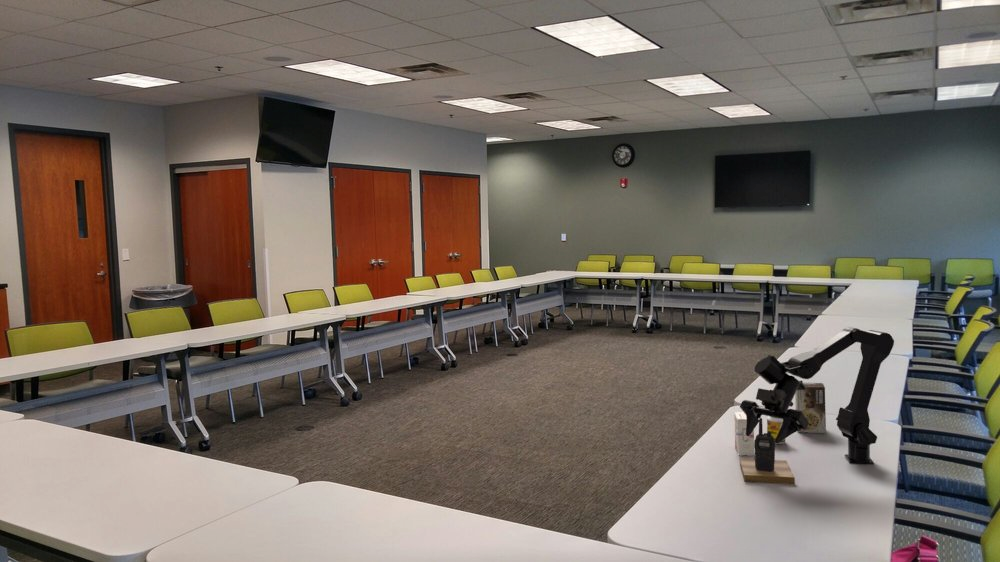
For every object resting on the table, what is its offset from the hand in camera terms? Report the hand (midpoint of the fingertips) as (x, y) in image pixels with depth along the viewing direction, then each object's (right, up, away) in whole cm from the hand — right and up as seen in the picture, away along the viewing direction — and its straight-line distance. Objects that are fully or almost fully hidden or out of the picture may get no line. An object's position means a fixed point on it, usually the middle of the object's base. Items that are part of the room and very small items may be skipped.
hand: (761, 439), depth 189 cm
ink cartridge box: (+4, -10, +23) cm, 25 cm away
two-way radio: (+2, -9, +2) cm, 9 cm away
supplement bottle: (+17, -9, +31) cm, 36 cm away
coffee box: (+33, -7, +42) cm, 54 cm away
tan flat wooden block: (+2, -11, +3) cm, 11 cm away
